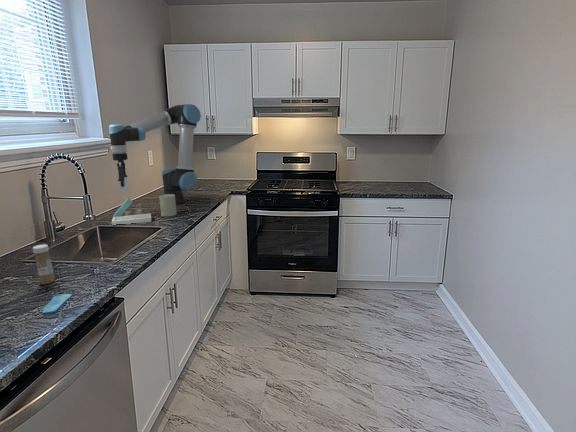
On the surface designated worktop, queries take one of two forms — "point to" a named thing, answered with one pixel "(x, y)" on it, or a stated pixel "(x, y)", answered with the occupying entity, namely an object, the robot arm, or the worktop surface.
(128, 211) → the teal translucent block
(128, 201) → the bar
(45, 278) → the sprinkles bottle
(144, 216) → the tray
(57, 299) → the sponge
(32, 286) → the worktop surface
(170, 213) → the can
